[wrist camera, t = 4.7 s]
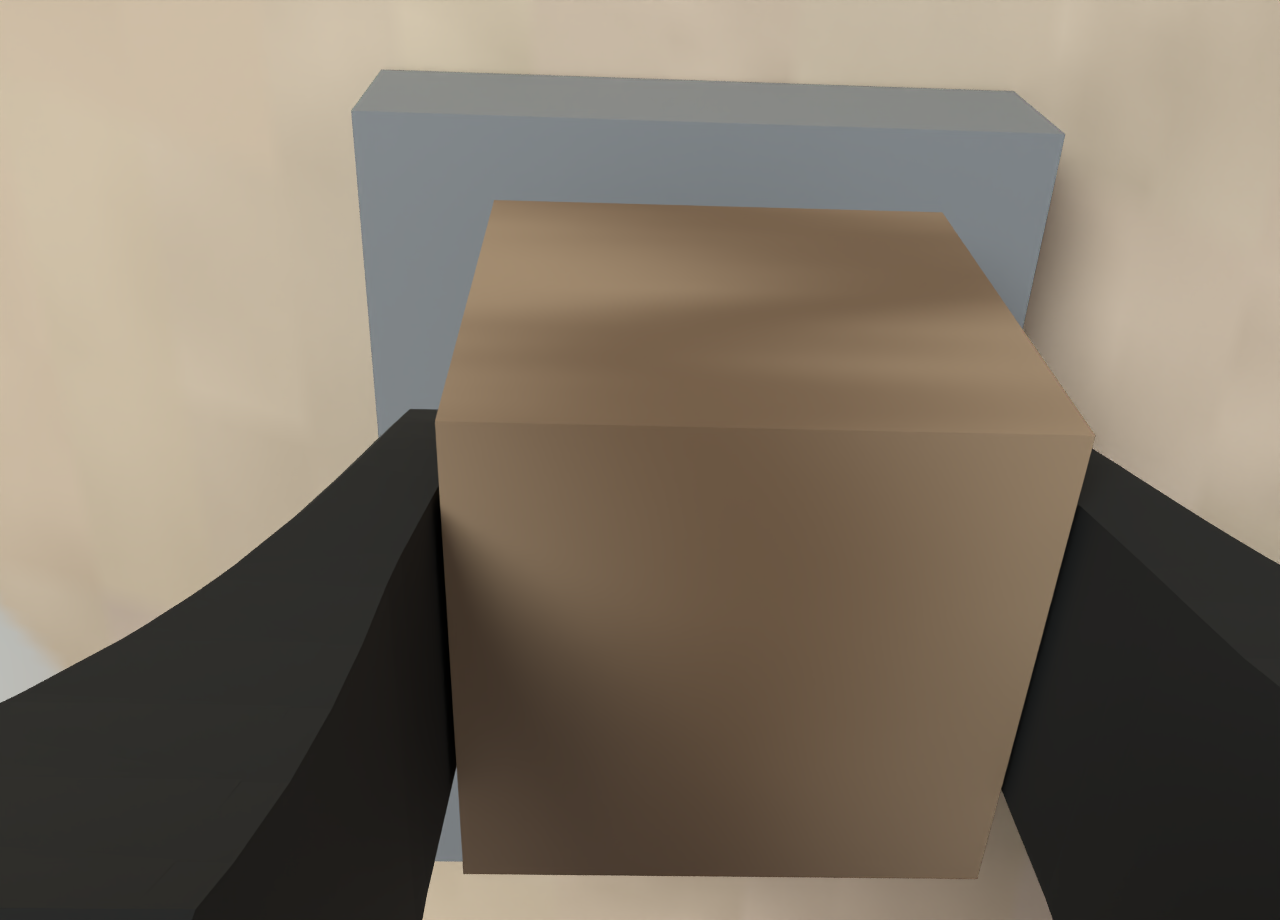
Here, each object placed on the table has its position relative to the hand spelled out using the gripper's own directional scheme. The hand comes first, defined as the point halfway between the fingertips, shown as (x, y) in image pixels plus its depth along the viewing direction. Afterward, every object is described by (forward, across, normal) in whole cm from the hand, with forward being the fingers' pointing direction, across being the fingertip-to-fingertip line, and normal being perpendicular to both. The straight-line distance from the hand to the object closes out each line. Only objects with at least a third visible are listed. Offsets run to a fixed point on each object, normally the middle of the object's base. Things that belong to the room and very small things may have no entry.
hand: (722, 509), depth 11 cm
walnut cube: (+2, 0, 0) cm, 2 cm away
